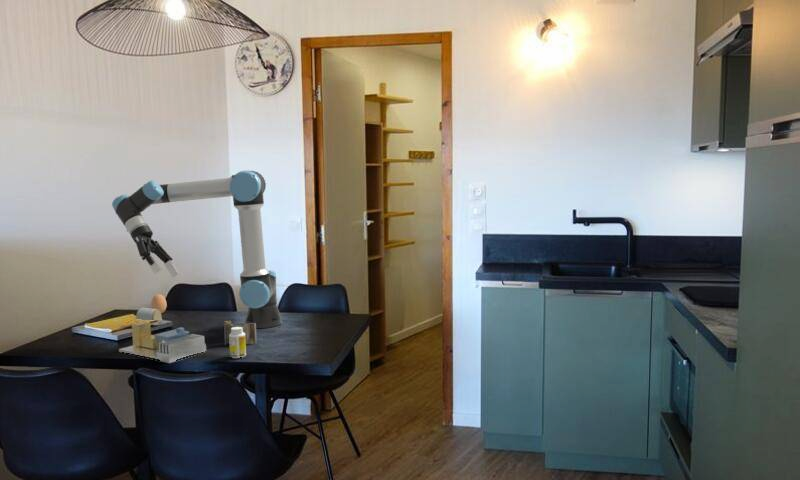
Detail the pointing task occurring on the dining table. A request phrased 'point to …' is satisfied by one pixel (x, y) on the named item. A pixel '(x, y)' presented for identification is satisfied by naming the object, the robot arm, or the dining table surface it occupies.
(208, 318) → the dining table surface
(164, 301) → the egg
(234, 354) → the supplement bottle
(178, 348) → the grey building model
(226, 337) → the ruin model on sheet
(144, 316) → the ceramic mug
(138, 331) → the beige wooden block
